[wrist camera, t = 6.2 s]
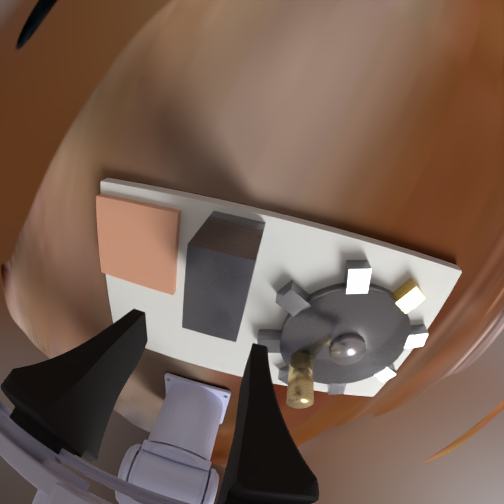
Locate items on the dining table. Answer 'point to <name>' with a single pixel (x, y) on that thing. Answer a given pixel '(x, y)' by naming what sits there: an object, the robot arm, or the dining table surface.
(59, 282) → the dining table surface
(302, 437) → the dining table surface
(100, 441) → the robot arm
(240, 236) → the grey rectangular block
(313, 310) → the sprocket
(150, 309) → the board
